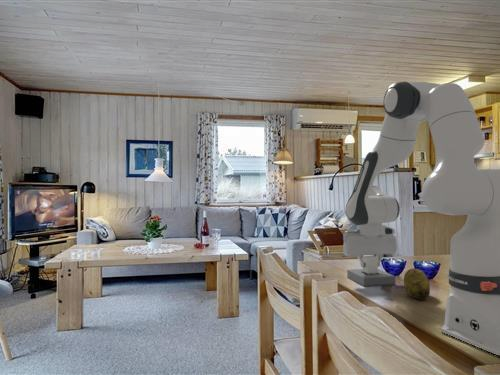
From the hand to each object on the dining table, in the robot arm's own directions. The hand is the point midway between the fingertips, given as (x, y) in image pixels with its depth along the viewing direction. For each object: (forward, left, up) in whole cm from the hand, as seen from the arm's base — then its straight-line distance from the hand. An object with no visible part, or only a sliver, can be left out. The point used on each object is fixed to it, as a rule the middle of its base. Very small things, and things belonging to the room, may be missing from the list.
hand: (370, 266), depth 140 cm
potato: (-21, -5, -6) cm, 22 cm away
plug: (0, 0, -3) cm, 3 cm away
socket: (0, 0, -5) cm, 5 cm away
